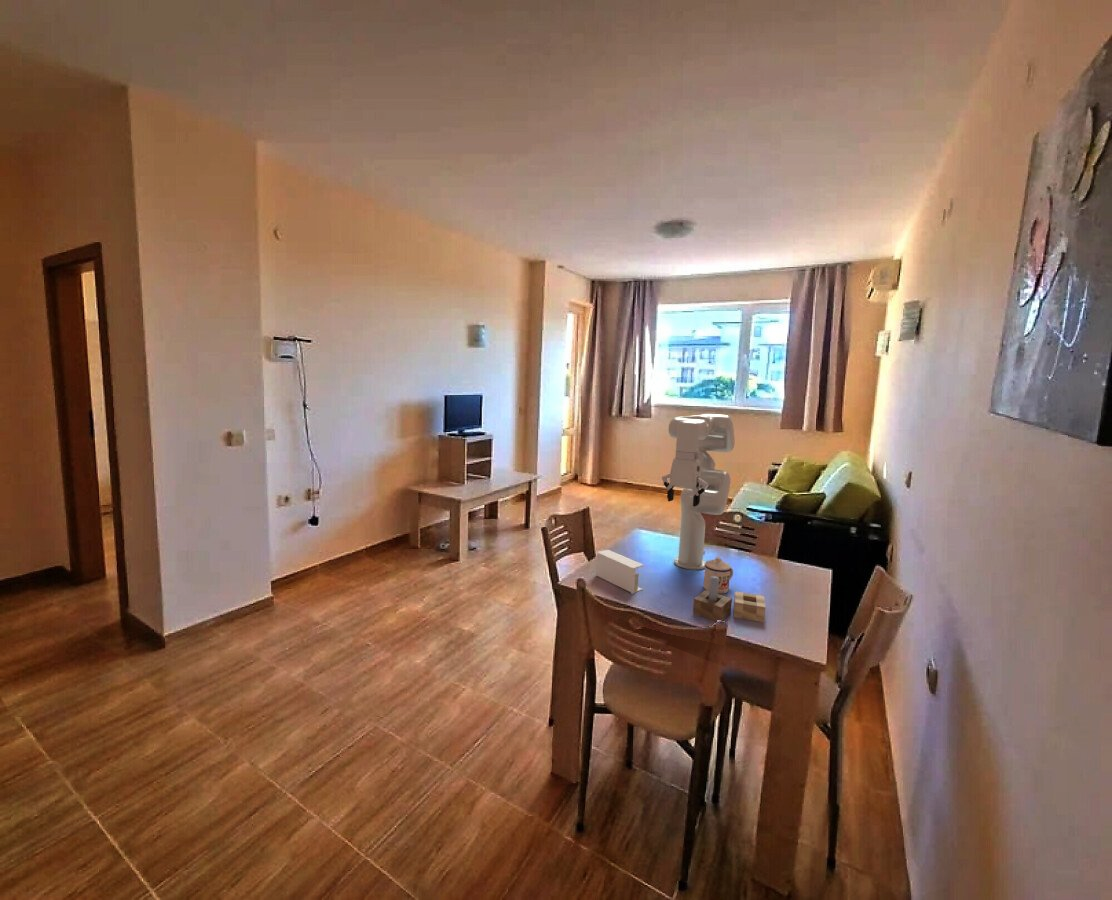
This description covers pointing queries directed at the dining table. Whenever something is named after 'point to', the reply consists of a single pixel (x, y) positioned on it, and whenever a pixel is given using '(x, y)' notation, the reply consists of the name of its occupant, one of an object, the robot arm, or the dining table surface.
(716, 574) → the teacup with lid
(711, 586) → the needle dowel
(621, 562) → the white channel beam
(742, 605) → the checkered wooden socket block
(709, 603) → the brown square-hole block
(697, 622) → the dining table surface
